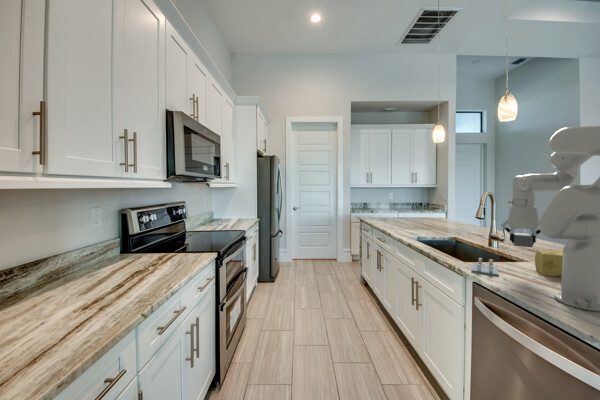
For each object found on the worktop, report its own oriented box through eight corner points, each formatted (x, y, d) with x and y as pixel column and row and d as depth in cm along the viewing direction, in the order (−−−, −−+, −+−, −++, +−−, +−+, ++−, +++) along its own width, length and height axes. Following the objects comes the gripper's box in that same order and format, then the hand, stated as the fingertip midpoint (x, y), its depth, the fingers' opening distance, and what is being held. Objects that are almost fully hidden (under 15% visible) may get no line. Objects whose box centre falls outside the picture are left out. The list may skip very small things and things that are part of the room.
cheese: (573, 279, 111) (575, 256, 110) (540, 275, 116) (541, 253, 116) (564, 272, 120) (565, 251, 120) (534, 269, 125) (534, 248, 125)
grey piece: (498, 276, 115) (498, 267, 115) (471, 272, 121) (471, 263, 121) (498, 268, 126) (498, 260, 126) (473, 264, 132) (473, 257, 132)
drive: (532, 247, 110) (532, 236, 110) (514, 245, 113) (514, 235, 113) (529, 243, 118) (530, 233, 118) (512, 242, 121) (513, 232, 121)
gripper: (498, 203, 117) (498, 242, 118) (551, 204, 107) (550, 247, 107) (498, 202, 123) (497, 240, 124) (548, 203, 113) (547, 244, 113)
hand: (522, 242), depth 115 cm, fingers closed on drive, 6 cm apart
